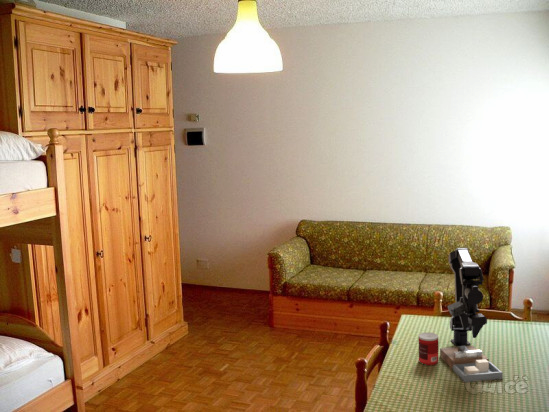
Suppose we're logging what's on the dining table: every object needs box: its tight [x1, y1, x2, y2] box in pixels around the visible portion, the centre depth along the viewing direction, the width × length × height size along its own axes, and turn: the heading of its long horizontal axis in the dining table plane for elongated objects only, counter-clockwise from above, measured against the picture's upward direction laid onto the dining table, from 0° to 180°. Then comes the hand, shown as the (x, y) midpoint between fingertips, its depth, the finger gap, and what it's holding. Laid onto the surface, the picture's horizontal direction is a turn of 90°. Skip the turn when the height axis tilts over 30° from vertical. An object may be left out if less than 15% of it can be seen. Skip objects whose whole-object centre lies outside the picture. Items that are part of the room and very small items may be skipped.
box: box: [452, 361, 504, 383], centre depth 223 cm, size 10×15×2 cm, turn 96°
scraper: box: [453, 345, 483, 360], centre depth 232 cm, size 2×11×7 cm
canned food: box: [418, 331, 439, 366], centre depth 235 cm, size 8×8×11 cm
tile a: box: [464, 366, 479, 374], centre depth 221 cm, size 4×4×2 cm
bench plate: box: [439, 345, 490, 370], centre depth 234 cm, size 14×14×4 cm
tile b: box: [476, 359, 490, 373], centre depth 224 cm, size 4×4×2 cm
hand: (469, 333), depth 233 cm, fingers open, 9 cm apart
